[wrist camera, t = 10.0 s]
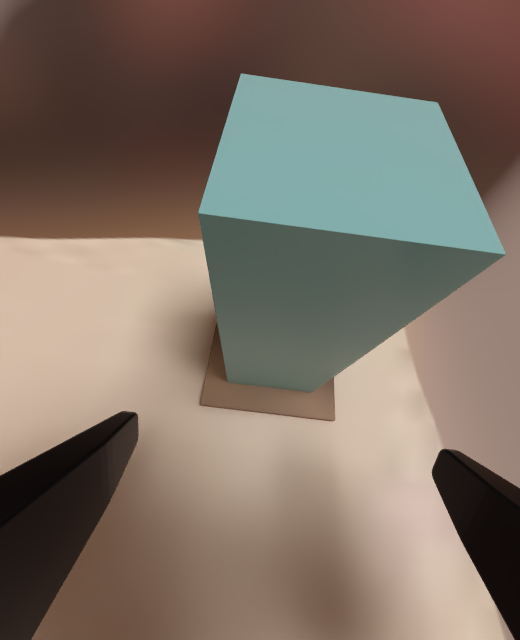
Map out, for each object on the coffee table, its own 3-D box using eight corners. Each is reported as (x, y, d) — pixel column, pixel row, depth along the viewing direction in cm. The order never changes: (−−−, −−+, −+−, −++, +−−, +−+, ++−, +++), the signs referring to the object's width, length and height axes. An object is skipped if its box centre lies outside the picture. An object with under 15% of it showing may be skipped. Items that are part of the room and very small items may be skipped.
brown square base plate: (332, 421, 15) (365, 412, 11) (201, 405, 15) (187, 391, 11) (329, 307, 19) (353, 270, 15) (223, 293, 19) (219, 252, 15)
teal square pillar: (311, 392, 15) (506, 254, 4) (227, 382, 15) (198, 213, 4) (312, 318, 18) (437, 102, 7) (239, 308, 18) (241, 73, 6)
